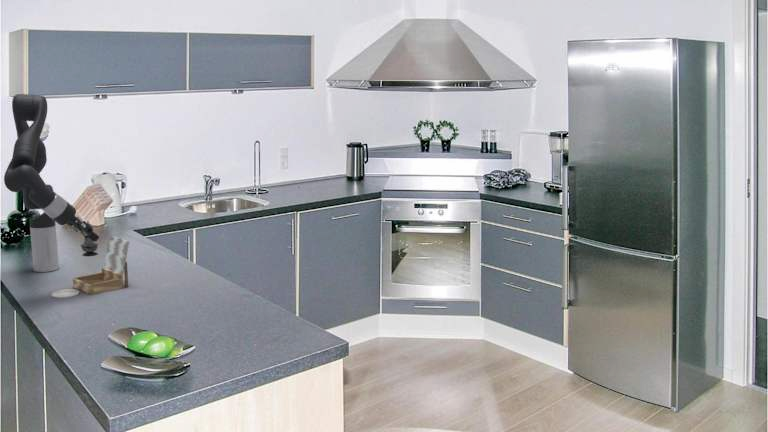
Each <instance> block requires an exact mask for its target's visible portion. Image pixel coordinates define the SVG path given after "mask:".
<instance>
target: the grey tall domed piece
mask: <svg viewBox="0 0 768 432" xmlns="http://www.w3.org/2000/svg"><path fill="white" fill-rule="evenodd" d="M86 223H87V224H88V225H89V226H90V227H91V228H92V229H93V225H92V224H91V223H90V221H87V222H86ZM93 230H94V229H93ZM83 238H84V243H82V244H80V247H81V249H82V251H83V254H81V256H82V257H95V256H98V255H99V253H97V252H96V251H97V250H98V246H99V243H96V242H95V241H93V240H92V239H91V238H90V237H88V236H86V234H83Z"/></svg>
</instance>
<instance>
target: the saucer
mask: <svg viewBox="0 0 768 432" xmlns="http://www.w3.org/2000/svg"><path fill="white" fill-rule="evenodd" d="M79 294H80V290H79V289H77V288H67V289H58V290H54V291H53V292H52V293H51V297H52V298H56V299H57V298H59V299H64V298H71V297H72V298H73V297H75V295H76V296H78V295H79Z"/></svg>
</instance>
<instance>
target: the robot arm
mask: <svg viewBox="0 0 768 432" xmlns="http://www.w3.org/2000/svg"><path fill="white" fill-rule="evenodd" d="M11 107H12V117H13V120H14V125H15V129H16V135H17V138H16V140H15V143H14V146H13V151H12V158H11V160H10V162H9V163H8V166H7V168H6V169H5V173H4V176H3V177H4V178H3V182H4V185H5V187H6V188H7V190H9V191H10V192H13V193H19V192H21V191H22V199H23V200H22V201H23V205H24V208H26V209H27V210H42V213H41V214H40V215H38V216H35V217H33V218H31V219H30V220H29V231H30V243H31V245H30V246H31V255H32V267H33V271H34V272H36V273H37V272H38V273H47V272H48V273H49V272H53V271H57V270H58V269H60V262H59V249H58V237H57V227H56V226H57V224H58V225H60V226H65V225H67V226H68V227H69V228H70V229H72V230H73V231H75V232H76V233H78V234H80V235H83V234H86V236H88V237H90V238H91V239H92V240H93V241H94V242H95V243H96V242H97V241H98V240H99V239H100V236H99V235H98V234H96V232H95V231H94V229H92V228H91V227H90V226H89V225H88V224H87V222H86V221H85V220H83V219H82V218H81V217H79V216H76V213H77V209H76V208H75V207H74V206H73V205H72V204H71V203H69V202H68V201H67V200H66V199H65V198H63V197H62V196H61V195H59V194H57V192H55V191H54V189H53V186H52V185H51V184H46V183H45V181H44V179H43V178H42V177H41V176H40V174H41V172H42V170H43V169H44V168H45V166H46V164H47V160H48V159H47V148H46V145H45V143H44V142H43V140H42V139H41V138H40V137H41V134H42V132H43V129H44V126H45V123H46V120H47V115H48V101H47V97H45V96H44V95H39V94H26V93H20V94H19V93H18V94H17V93H16V94H14V96H13V97H12V102H11ZM28 122H32V123H31V125H30V126H29V124H28ZM56 223H57V224H56ZM83 236H84V235H83Z"/></svg>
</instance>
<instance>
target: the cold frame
mask: <svg viewBox="0 0 768 432" xmlns="http://www.w3.org/2000/svg"><path fill="white" fill-rule="evenodd" d="M129 244H130V241H129V240H126V239H122V238H119V237H116V236H113V235H108V240H107V247H106V251H105V256H104V261H103V267H101V272H95V273H92V274H85V275H80V276H75V278H73V279H72V285H73V286H72V287H73V289H76V290H79V291H80V292H81V291H82V292H84V293H87V294H88V295H96V294H101V293H105V292H106V293H107V292H110V291H115V290H120V289H124V287H126V288H127V286H128V287H129V275H128V274H129V273H128V262H127V261H126V260H127V255H128V250H129V249H128V248H129ZM123 275H124V279H123Z"/></svg>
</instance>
